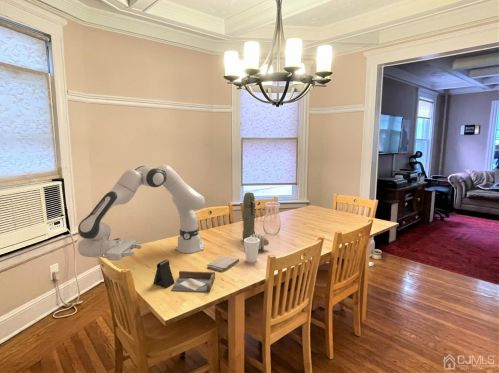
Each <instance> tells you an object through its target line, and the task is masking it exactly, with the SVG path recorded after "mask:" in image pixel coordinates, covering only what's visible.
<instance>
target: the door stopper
mask: <svg viewBox="0 0 499 373" xmlns="http://www.w3.org/2000/svg"><path fill="white" fill-rule="evenodd" d="M175 283H176V281H175V279H174V277H173V273H172V269H171V267H170V260H169V259H165V260H163V261H160V262H158V263H156V271H155V275H154V278H153V283H152V284H153V285H155V286H158V287H161V288H164V289H167V288H170V286H172V285H175Z"/></svg>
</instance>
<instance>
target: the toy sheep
mask: <svg viewBox="0 0 499 373" xmlns="http://www.w3.org/2000/svg"><path fill="white" fill-rule="evenodd" d="M264 236H265V235H263V234H258V233H255V234H253V236H252V235H250V237H254V238H258V239H259V240H260V244H259V249H258V251H259V250H261V252H262V251H263V252H265V246H268V245H269V243H270V241H269V240H268V239H267V238H266V237H264ZM250 237H249V238H250ZM242 242H243V244H244V241H243V240H242Z"/></svg>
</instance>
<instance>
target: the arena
mask: <svg viewBox="0 0 499 373" xmlns="http://www.w3.org/2000/svg"><path fill="white" fill-rule="evenodd" d="M215 279H216V272H215V271H212V272H211V271H189V270H187V271H186V270H179V272H178V278H177V279H176V281H175V283H174V284H173V286H172V288H171V290H170V291H171V292H186V293H187V292H188V293H206V294H207V293H208V294H209V293H211V290H212V287H213V284H214V283H215V282H214V281H215Z"/></svg>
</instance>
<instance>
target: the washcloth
mask: <svg viewBox="0 0 499 373" xmlns="http://www.w3.org/2000/svg"><path fill="white" fill-rule="evenodd" d="M239 262H240V258H237V257H230V256H226V255H222V256H220V257H218V258H216V259H214V260H212V261H211V262H208V263H207V267H206V268H207V269H210V270H212V271H217V272H221V273H223V272H226V271H228V270H230V269H231V268H232V267H234V266H235V265H237V264H238V263H239Z"/></svg>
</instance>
